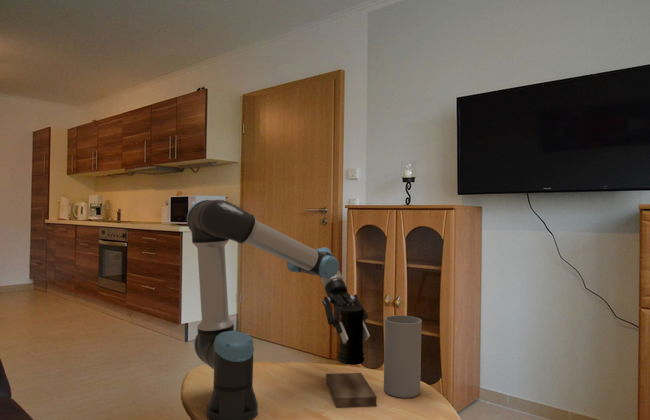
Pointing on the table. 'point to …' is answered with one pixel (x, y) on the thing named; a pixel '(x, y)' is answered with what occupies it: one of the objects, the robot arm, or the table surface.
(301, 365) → the table surface
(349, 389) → the shelf board
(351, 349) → the container
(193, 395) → the table surface
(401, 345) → the cylinder vase
